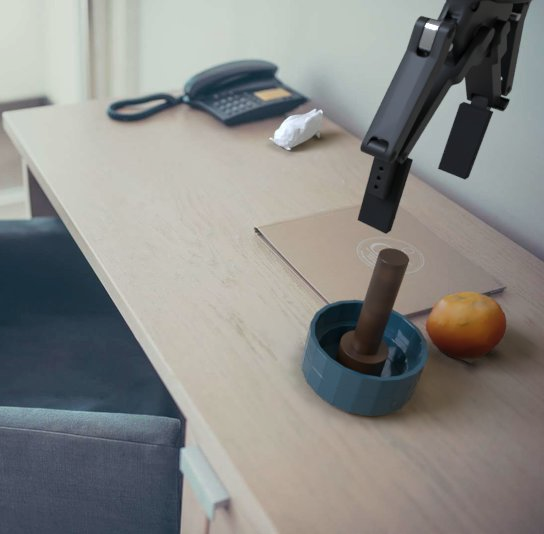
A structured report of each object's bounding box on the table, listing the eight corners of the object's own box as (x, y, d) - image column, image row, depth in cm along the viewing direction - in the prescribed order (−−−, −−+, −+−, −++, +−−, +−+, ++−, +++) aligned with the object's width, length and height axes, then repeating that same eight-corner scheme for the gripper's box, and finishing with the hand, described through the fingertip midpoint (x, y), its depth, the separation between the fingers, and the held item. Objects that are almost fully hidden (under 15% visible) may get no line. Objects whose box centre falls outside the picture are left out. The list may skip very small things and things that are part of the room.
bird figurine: (293, 135, 121) (265, 139, 114) (310, 102, 117) (282, 104, 110) (314, 148, 119) (286, 154, 111) (332, 115, 115) (304, 119, 108)
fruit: (491, 381, 69) (477, 313, 67) (424, 370, 76) (409, 308, 74) (526, 347, 73) (514, 283, 72) (460, 340, 80) (446, 281, 78)
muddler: (388, 373, 71) (431, 258, 61) (363, 396, 68) (404, 279, 58) (349, 349, 74) (385, 235, 64) (323, 370, 71) (356, 254, 61)
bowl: (432, 380, 71) (449, 341, 67) (373, 439, 65) (388, 400, 61) (340, 323, 78) (351, 285, 74) (278, 372, 72) (287, 333, 68)
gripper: (524, -95, 53) (445, 141, 66) (352, -56, 39) (295, 230, 52) (625, -81, 48) (519, 168, 61) (470, -33, 35) (376, 274, 48)
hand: (416, 197), depth 57 cm, fingers open, 13 cm apart
